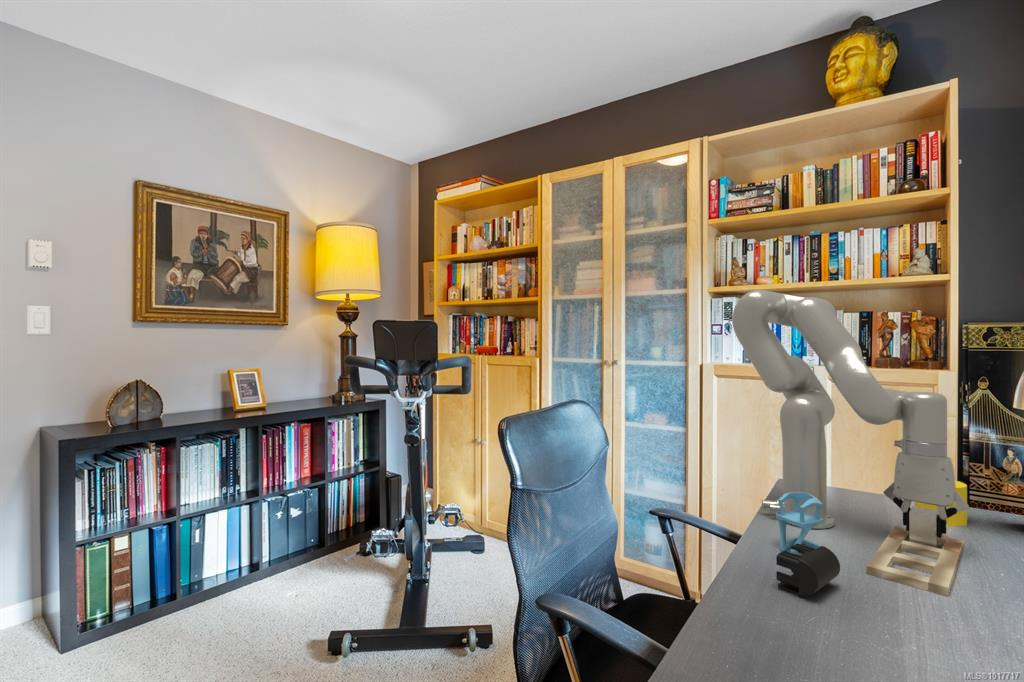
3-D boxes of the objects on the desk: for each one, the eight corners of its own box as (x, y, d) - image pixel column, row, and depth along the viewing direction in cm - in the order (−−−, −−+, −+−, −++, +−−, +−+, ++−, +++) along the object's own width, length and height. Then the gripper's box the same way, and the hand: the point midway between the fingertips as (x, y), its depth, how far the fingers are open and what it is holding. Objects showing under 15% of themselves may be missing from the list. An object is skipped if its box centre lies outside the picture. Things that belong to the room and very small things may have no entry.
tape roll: (962, 517, 128) (962, 480, 128) (971, 529, 119) (971, 490, 119) (912, 509, 133) (912, 474, 133) (917, 521, 125) (917, 483, 125)
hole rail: (866, 573, 97) (866, 565, 97) (895, 532, 117) (895, 525, 117) (948, 596, 88) (948, 587, 88) (963, 547, 109) (963, 540, 109)
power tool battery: (817, 605, 86) (817, 565, 86) (775, 589, 91) (775, 552, 91) (840, 587, 92) (840, 550, 92) (799, 573, 97) (799, 538, 97)
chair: (770, 546, 110) (770, 491, 110) (796, 540, 113) (796, 487, 113) (802, 560, 103) (802, 502, 103) (829, 553, 106) (829, 497, 106)
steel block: (909, 542, 109) (909, 510, 109) (912, 537, 112) (912, 505, 112) (936, 548, 106) (936, 515, 106) (939, 542, 109) (939, 510, 109)
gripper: (873, 445, 113) (873, 526, 113) (975, 458, 100) (975, 549, 101) (880, 440, 118) (880, 518, 118) (978, 452, 106) (978, 539, 106)
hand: (924, 531), depth 109 cm, fingers closed on steel block, 4 cm apart
